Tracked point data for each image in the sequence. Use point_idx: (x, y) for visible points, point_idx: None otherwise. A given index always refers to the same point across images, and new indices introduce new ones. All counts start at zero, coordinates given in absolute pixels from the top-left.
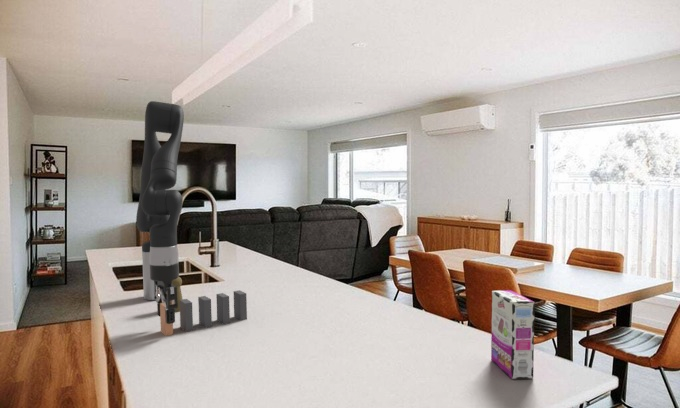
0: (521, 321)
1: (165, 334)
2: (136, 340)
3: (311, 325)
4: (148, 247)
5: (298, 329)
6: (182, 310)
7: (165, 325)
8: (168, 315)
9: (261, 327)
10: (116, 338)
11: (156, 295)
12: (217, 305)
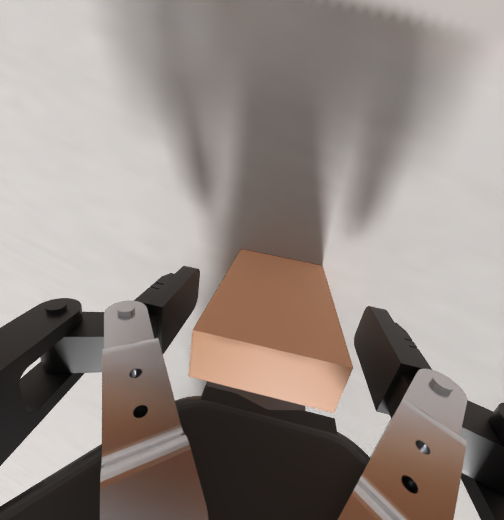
0: None
1: (244, 251)
2: (281, 116)
3: None
4: None
5: (51, 471)
6: (255, 400)
7: (231, 267)
8: (152, 292)
9: None
10: (420, 28)
11: (408, 428)
12: None
